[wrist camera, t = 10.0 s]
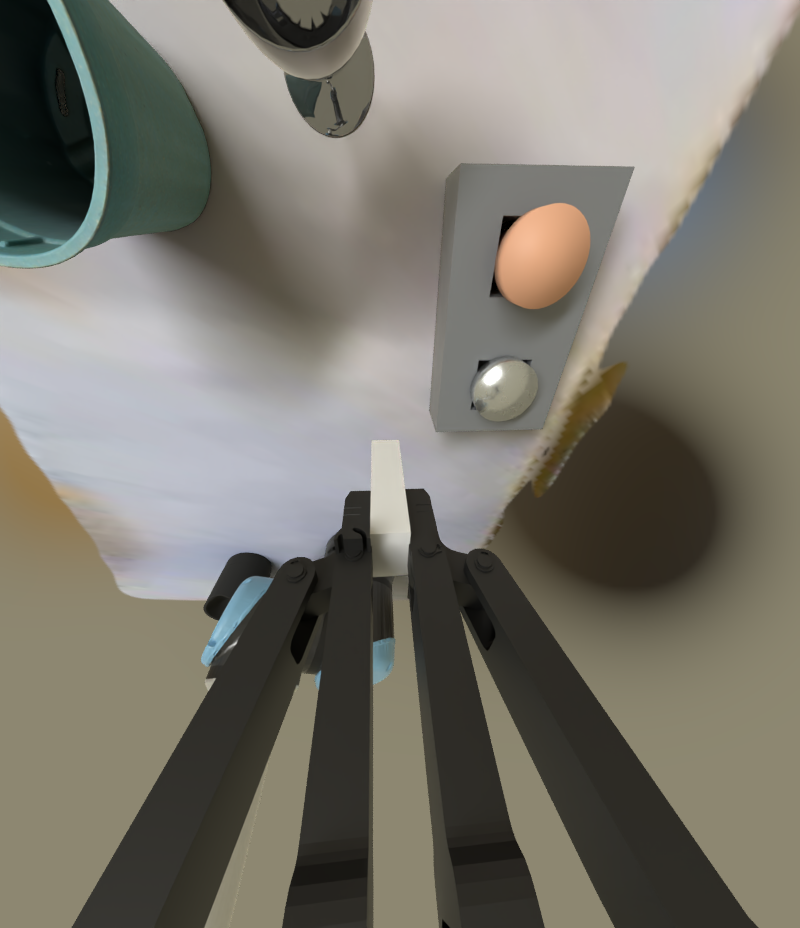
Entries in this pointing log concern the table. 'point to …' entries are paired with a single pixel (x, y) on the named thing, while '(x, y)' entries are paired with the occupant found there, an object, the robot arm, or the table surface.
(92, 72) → the flower pot
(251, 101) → the table surface
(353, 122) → the wine glass
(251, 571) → the pen holder
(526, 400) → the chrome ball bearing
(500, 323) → the press console
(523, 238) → the peach rounded piece
